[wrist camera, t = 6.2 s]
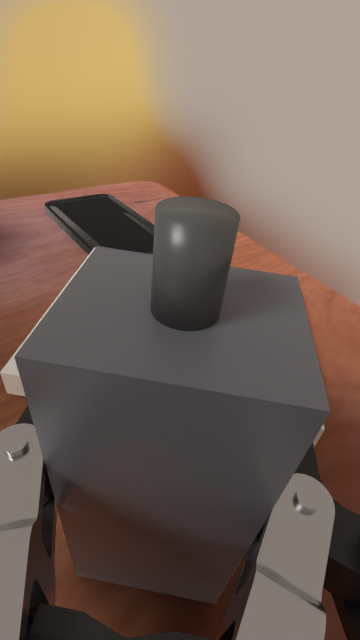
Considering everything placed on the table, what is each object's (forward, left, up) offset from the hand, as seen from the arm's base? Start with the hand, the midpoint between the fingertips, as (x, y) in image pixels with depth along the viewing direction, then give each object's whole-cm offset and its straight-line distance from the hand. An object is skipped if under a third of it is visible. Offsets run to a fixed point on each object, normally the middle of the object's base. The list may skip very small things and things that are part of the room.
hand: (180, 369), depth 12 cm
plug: (0, -3, -7) cm, 7 cm away
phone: (-10, +23, -7) cm, 26 cm away
